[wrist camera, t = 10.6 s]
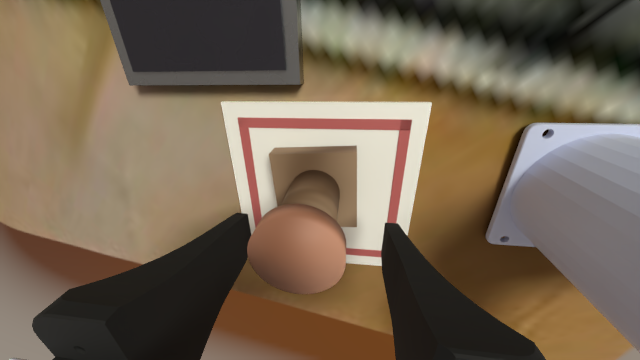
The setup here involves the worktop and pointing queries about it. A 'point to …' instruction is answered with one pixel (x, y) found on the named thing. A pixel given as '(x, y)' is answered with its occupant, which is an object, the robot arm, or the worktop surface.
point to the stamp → (307, 218)
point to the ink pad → (208, 41)
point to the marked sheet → (334, 130)
